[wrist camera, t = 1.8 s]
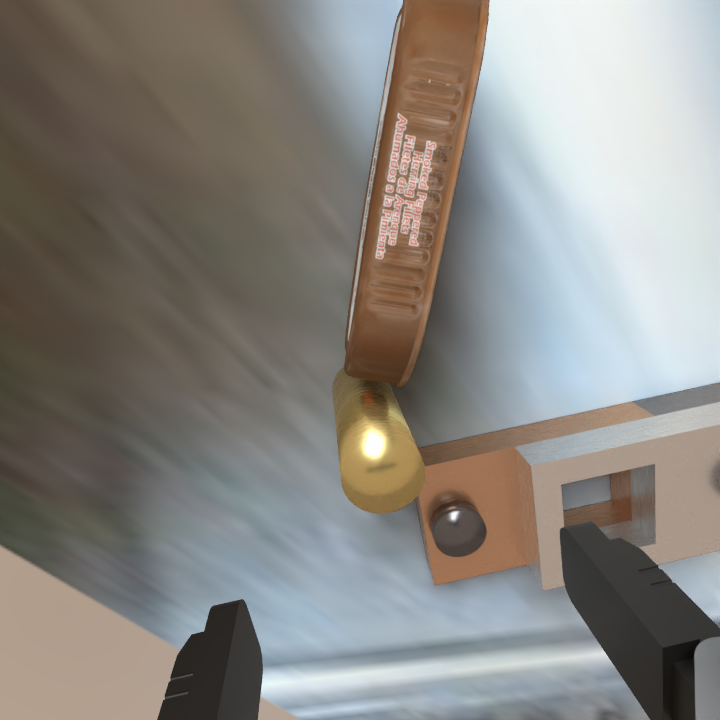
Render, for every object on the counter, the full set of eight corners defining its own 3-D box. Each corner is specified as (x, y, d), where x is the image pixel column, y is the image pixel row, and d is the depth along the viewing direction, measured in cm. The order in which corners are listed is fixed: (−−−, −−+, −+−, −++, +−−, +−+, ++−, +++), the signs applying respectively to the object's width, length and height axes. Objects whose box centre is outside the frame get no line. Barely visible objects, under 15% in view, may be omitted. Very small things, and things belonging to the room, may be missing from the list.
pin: (327, 368, 25) (333, 448, 17) (383, 356, 25) (418, 429, 17) (339, 419, 26) (350, 521, 18) (393, 408, 26) (431, 503, 18)
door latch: (406, 450, 27) (426, 502, 22) (723, 381, 28) (808, 417, 23) (427, 561, 29) (448, 628, 25) (718, 495, 30) (795, 549, 25)
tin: (389, 355, 25) (424, 422, 17) (330, 347, 25) (337, 411, 17) (451, 30, 21) (534, -79, 13) (382, 14, 21) (423, -109, 13)
